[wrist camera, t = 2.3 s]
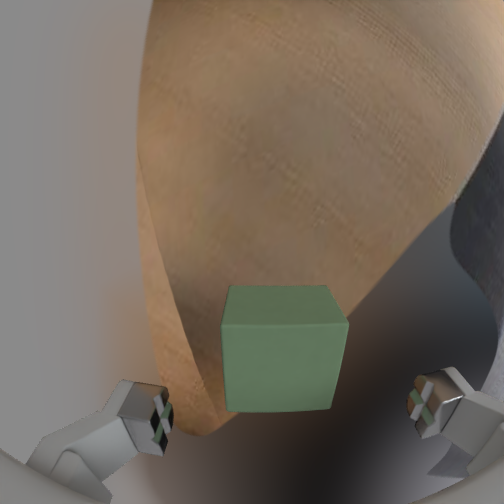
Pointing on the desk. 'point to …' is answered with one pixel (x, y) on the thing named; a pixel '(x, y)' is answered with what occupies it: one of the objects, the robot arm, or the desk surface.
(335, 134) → the desk surface
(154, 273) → the desk surface
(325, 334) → the green pad
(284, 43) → the desk surface
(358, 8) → the desk surface
